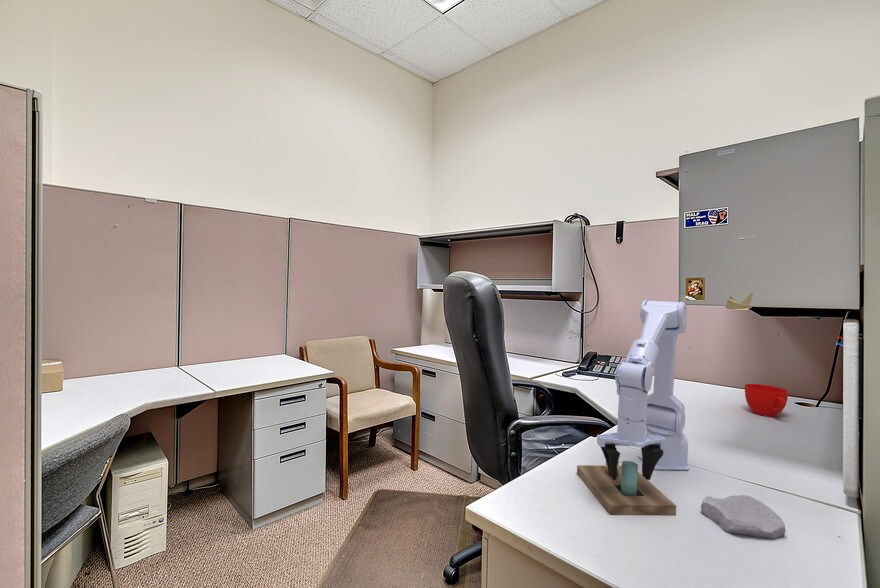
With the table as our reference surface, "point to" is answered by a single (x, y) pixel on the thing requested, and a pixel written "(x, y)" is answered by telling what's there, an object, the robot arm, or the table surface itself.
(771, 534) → the stone block
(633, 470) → the teal pin
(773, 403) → the ceramic cup
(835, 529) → the table surface
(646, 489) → the pin board
